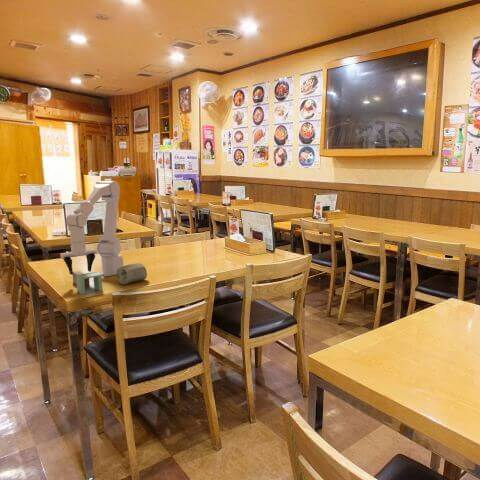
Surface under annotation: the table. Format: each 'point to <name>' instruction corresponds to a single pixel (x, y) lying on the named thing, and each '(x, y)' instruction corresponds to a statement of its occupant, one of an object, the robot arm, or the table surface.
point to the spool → (131, 273)
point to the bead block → (81, 278)
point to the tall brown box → (87, 283)
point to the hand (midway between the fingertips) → (80, 272)
